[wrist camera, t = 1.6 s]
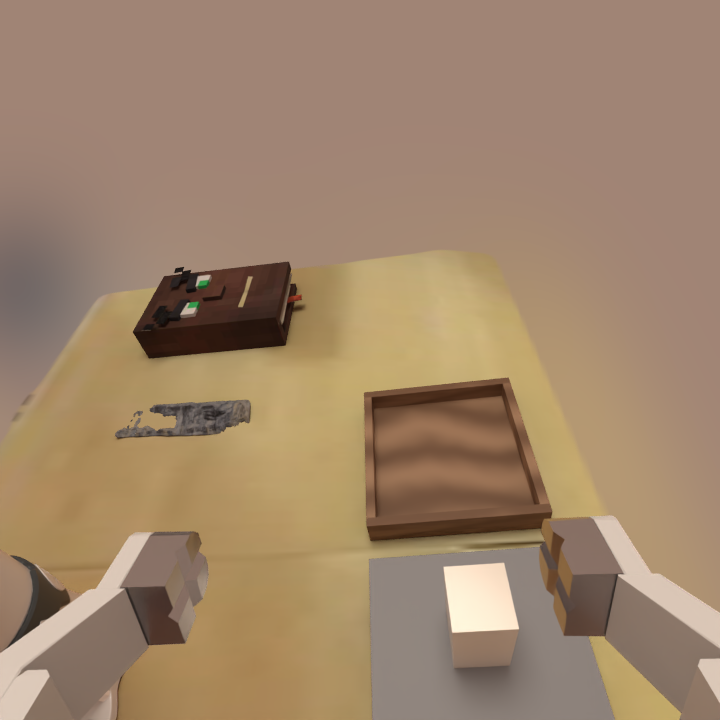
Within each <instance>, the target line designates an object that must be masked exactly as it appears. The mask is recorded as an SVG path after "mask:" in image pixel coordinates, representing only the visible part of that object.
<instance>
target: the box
mask: <svg viewBox="0 0 720 720" xmlns="http://www.w3.org/2000/svg"><path fill="white" fill-rule="evenodd" d="M364 409H365V463H366V516H367V529H368V533H369V536H370V540H371V541H374V540H387V539H401V538H414V537H428V536H441V535H454V534H468V533H481V532H495V531H508V530H522V529H535V528H542V523H543V521H544V519H551V515H552V509H551V506H550V503H549V500H548V497H547V494H546V491H545V488H544V485H543V482H542V478H541V475H540V472H539V469H538V466H537V463H536V460H535V457H534V454H533V451H532V448H531V445H530V442H529V439H528V436H527V433H526V429H525V426H524V423H523V420H522V417H521V414H520V411H519V408H518V405H517V402H516V399H515V396H514V393H513V390H512V387H511V384H510V381H509V378H500V379H490V380H481V381H471V382H461V383H452V384H442V385H433V386H423V387H413V388H404V389H394V390H385V391H375V392H365V393H364Z"/></svg>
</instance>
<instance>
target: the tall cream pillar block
mask: <svg viewBox="0 0 720 720" xmlns="http://www.w3.org/2000/svg"><path fill="white" fill-rule="evenodd" d="M443 568H444V586H445V603H446V614H447V622H448V630H449V637H450V645H451V653H452V660H453V668H470V667H491V666H510V662H511V659H512V655H513V651H514V647H515V643H516V639H517V635H518V632H519V626H518V622H517V617H516V613H515V609H514V604H513V600H512V595H511V591H510V587H509V582H508V578H507V574H506V569H505V565H504V563H493V564H478V565H464V566H449V567H443Z"/></svg>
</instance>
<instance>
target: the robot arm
mask: <svg viewBox="0 0 720 720" xmlns="http://www.w3.org/2000/svg"><path fill="white" fill-rule="evenodd" d="M541 532H542V535H543V537H544V540H545V542H544V543H543V544H542V545H541V546H540V549H539V563H540V571H541V575H542V579H543V582H544V585H545V588H546V590H547V591H548V592H549V593H551V594H552V595H553V596H554V604H553V609H554V612H555V614H556V617H557V619H558V622H559V625H560V627H561V630H562V632H563V635H564V636H605V639H606V640H607V641H608V642H609V643H610V644H611V645H612V646H613V647H614V648H615V649H616V650H617V651H618V652H619V653H620V654H621V655H622V656H623V657H624V658H626V659H627V660H628V661H629V662H630V663H631V664H632V665H633V666H634V667H635V668H636V669H637V670H638V671H639V672H640V673H641V674H642V675H643V676H644V677H645V678H646V679H647V680H648V681H649V682H650V683H651V684H652V685H653V686H654V687H655V688H656V689H657V690H658V691H659V692H660V693H661V694H662V695H663V696H664V697H665V698H666V699H667V700H668V701H669V702H670V703H671V704H672V705H674V706H675V707H676V708H677V709H678V710H679V711H680V712H681V713H682V714H681V717H680V719H679V720H720V613H719V612H717V611H716V610H714V609H713V608H711V607H710V606H708V605H707V604H705V603H703V602H702V601H700V600H699V599H697V598H696V597H694V596H693V595H691V594H690V593H688V592H687V591H685V590H684V589H682V588H680V587H679V586H677V585H676V584H674V583H672V582H671V581H670V580H668V579H667V578H665V577H664V576H662V575H660V574H652V573H651V571H650V570H649V568H648V567H647V565H646V564H645V562H644V561H643V559H642V558H641V556H640V554H639V553H638V551H637V550H636V548H635V547H634V545H633V543H632V542H631V541H630V539H629V537H628V536H627V534H626V533H625V531H624V529H623V528H622V526H621V525H620V523H619V522H618V520H617V519H616V518H615V517H613V516H592V517H573V518H551V519H544V521H543V523H542V529H541ZM201 544H202V543H201V540H200V537H199V534H198V533H197V532H140V533H134V534H132V535H131V536H129V538H128V539H127V541H126V542H125V544H124V545H123V547H122V549H121V550H120V552H119V553H118V555H117V556H116V558H115V560H114V561H113V563H112V564H111V566H110V567H109V569H108V571H107V572H106V574H105V575H104V577H103V578H102V580H101V582H100V583H99V585H98V586H97V588H96V589H90V590H88V591H87V592H85V593H84V594H79V593H76V592H73V591H71V590H68V589H66V588H65V587H64V585H63V584H62V583H61V582H60V581H59V580H58V579H56V578H55V577H54V576H53V575H51V574H50V573H48V572H47V571H46V570H44V569H43V568H41V567H39V566H38V565H36V564H32V563H30V562H29V561H27V560H25V559H23V558H21V557H17V556H11V555H8V554H7V553H5V552H4V551H2V550H1V549H0V720H116V717H117V706H118V701H117V689H118V685H119V681H120V678H121V676H122V675H123V674H124V673H125V672H126V671H127V670H128V669H129V668H130V667H131V666H132V665H133V664H134V662H135V661H136V660H137V659H138V658H139V657H140V656H141V655H142V654H143V653H144V652H145V651H146V650H147V649H148V645H164V644H184V643H186V640H187V638H188V635H189V633H190V630H191V628H192V625H193V622H194V620H195V617H196V615H195V612H194V609H193V607H194V606H195V605H196V604H197V603H199V602H200V601H201V600H202V599H203V596H204V594H205V591H206V588H207V582H208V575H209V574H208V564H207V560H206V557H205V556H204V555H202V554H201V553H200V552H199V548H200V546H201Z"/></svg>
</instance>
